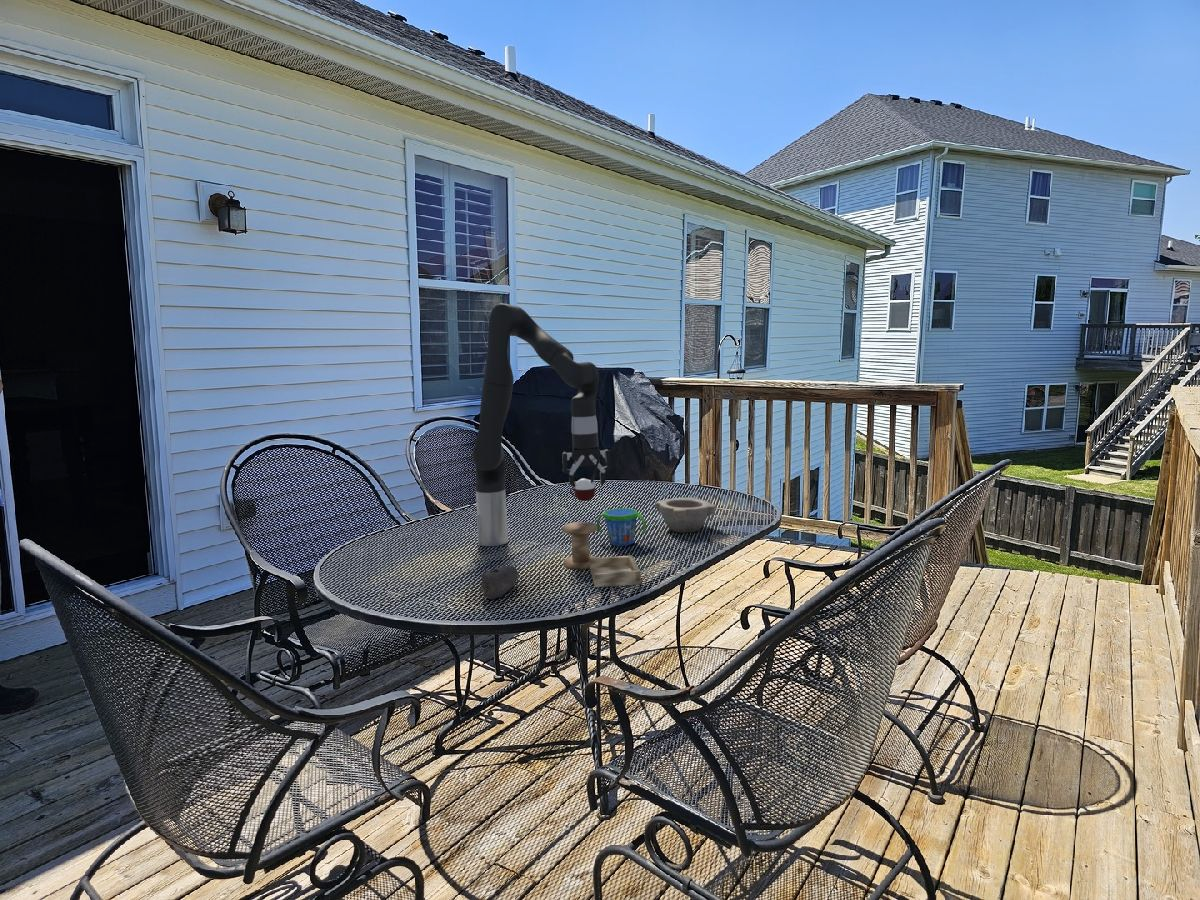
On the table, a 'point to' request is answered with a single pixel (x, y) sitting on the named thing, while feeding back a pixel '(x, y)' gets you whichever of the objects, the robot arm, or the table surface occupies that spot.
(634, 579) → the shallow rimmed tray
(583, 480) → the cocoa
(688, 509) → the mortar
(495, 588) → the perforated stone tool
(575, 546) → the tan spool shaped stand
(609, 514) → the snack cup
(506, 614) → the table surface
